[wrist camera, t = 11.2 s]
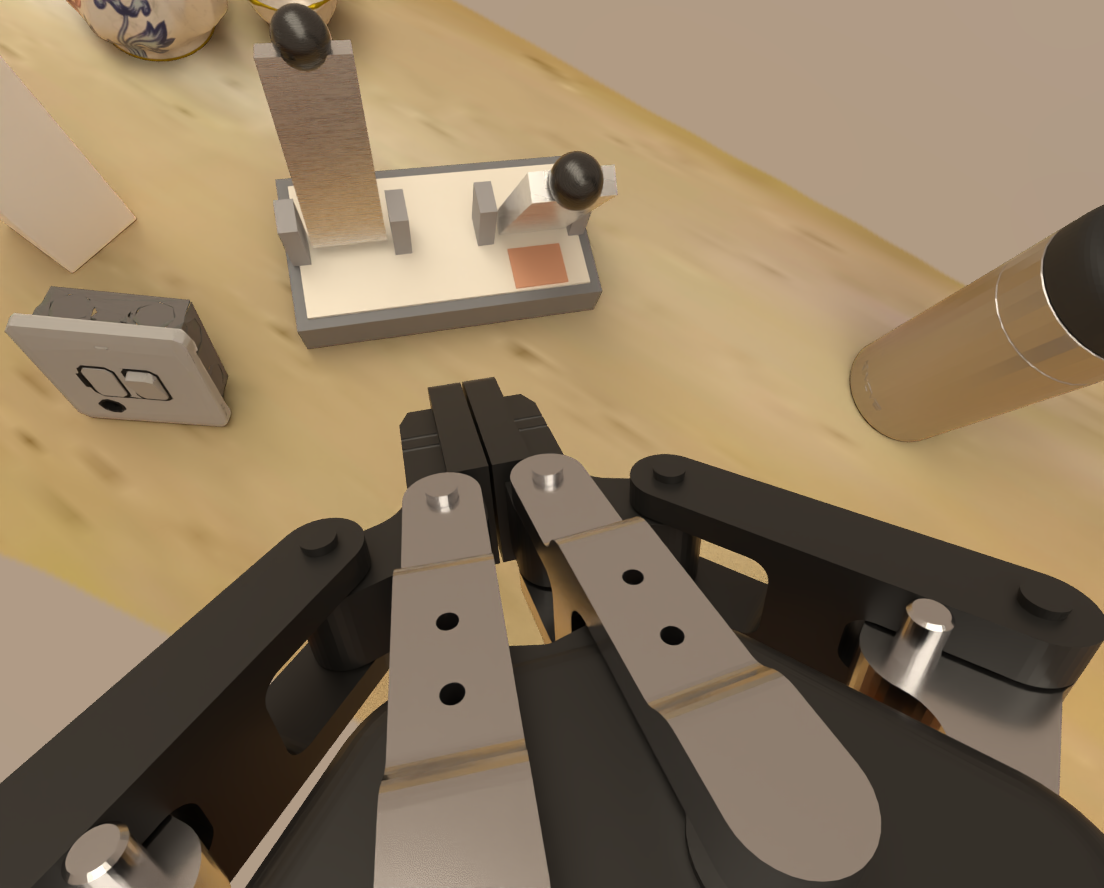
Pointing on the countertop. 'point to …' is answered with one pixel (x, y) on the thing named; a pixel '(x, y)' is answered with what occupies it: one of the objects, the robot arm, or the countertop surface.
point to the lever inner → (557, 195)
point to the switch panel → (435, 259)
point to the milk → (51, 182)
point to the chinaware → (171, 23)
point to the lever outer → (321, 127)
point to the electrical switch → (125, 356)
